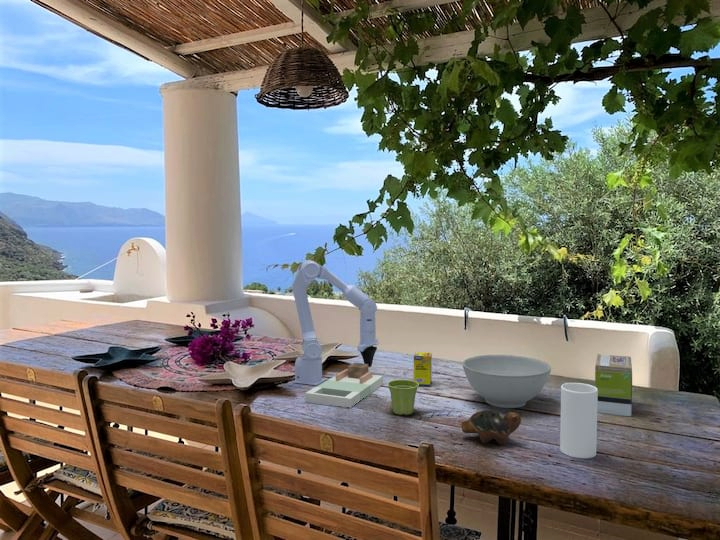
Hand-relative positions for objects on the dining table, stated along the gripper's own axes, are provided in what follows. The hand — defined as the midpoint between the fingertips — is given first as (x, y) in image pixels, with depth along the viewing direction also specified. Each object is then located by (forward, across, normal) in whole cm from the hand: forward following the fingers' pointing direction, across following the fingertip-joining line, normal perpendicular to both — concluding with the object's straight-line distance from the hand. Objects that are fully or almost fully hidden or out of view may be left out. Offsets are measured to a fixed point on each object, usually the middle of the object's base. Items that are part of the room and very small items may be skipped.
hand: (368, 366), depth 197 cm
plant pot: (+5, -30, -24) cm, 39 cm away
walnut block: (+1, -9, 0) cm, 9 cm away
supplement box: (+5, 0, -21) cm, 21 cm away
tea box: (+5, -2, -82) cm, 82 cm away
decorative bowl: (+5, -9, -51) cm, 52 cm away
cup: (+5, -41, -73) cm, 84 cm away
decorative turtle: (+5, -42, -52) cm, 67 cm away
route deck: (+4, -19, 0) cm, 19 cm away
